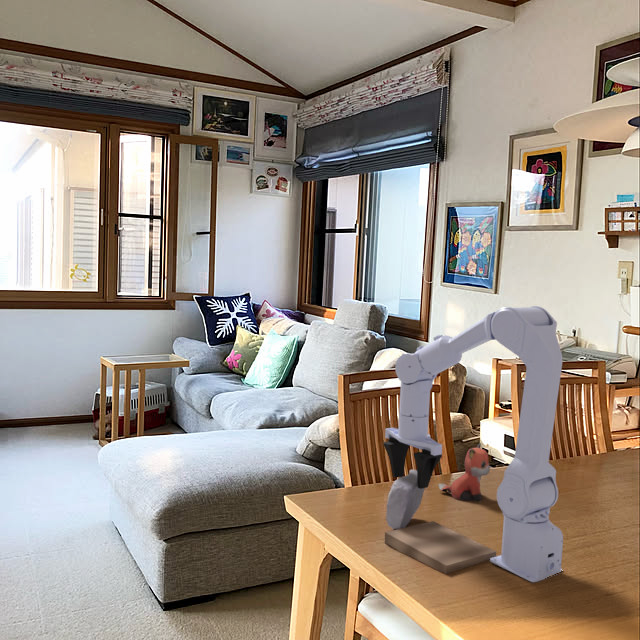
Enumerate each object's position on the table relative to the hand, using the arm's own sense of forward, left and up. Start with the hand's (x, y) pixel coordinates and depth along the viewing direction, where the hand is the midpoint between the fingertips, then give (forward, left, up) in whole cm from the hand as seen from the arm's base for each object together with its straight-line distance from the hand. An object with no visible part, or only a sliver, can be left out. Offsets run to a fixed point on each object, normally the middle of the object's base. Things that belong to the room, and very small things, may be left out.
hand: (410, 482), depth 140 cm
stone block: (0, +1, -9) cm, 9 cm away
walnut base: (-13, +4, -9) cm, 16 cm away
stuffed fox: (+7, -22, -9) cm, 25 cm away
